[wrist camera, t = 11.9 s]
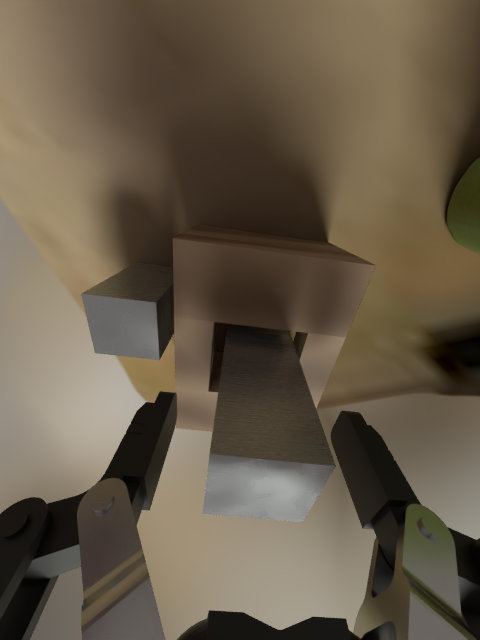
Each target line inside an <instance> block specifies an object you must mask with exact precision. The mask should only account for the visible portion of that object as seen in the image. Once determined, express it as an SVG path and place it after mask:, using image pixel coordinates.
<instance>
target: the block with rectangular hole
mask: <svg viewBox="0 0 480 640" xmlns="http://www.w3.org/2000/svg"><path fill="white" fill-rule="evenodd" d="M375 267H376V265H374V264H372V263H370V262H368V261H366V260H364V259H362V258H359V257H357V256H355V255H353V254H351V253H349V252H347V251H345V250H343V249H341V248H339V247H337V246H335V245H333V244H331V243H329V242H321V241H314V240H307V239H300V238H292V237H285V236H278V235H270V234H263V233H256V232H248V231H241V230H234V229H227V228H219V227H212V226H205V225H198V226H196V227H194V228H192V229H190V230H188V231H186V232H184V233H182V234H180V235H178V236H176V237H174V238H173V285H174V340H175V393H177V420H176V428H181V429H191V430H201V431H212V432H213V426H214V419H215V412H216V404H217V397H218V390H219V383H220V375H221V368H222V361H223V354H224V352H220V351H214V343H215V331H216V322H219V323H227V324H236V325H244V326H253V327H261V328H270V329H278V330H287V331H295V332H296V335H295V338H294V342H293V343H294V346H295V349H296V352H297V355H298V358H299V361H300V364H301V367H302V369H303V372H304V375H305V378H306V381H307V384H308V387H309V390H310V393H311V396H312V398H313V401H314V404H315V407H316V408H317V405H318V403H319V400H320V398H321V396H322V393H323V391H324V389H325V386H326V384H327V381H328V379H329V377H330V374H331V372H332V369H333V367H334V365H335V362H336V360H337V358H338V355H339V353H340V350H341V348H342V346H343V343H344V341H345V339H346V336H347V334H348V331H349V329H350V327H351V324H352V322H353V319H354V317H355V315H356V312H357V310H358V308H359V305H360V303H361V300H362V298H363V296H364V293H365V291H366V289H367V286H368V284H369V281H370V279H371V277H372V274H373V272H374V270H375Z"/></svg>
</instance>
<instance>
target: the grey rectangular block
mask: <svg viewBox="0 0 480 640" xmlns="http://www.w3.org/2000/svg"><path fill="white" fill-rule="evenodd" d="M82 299H83V303H84V307H85V312H86V316H87V320H88V324H89V329H90V333H91V337H92V342H93V346H94V350H95V353H99V354H108V355H118V356H127V357H136V358H146V359H155V360H160V358H161V356H162V354H163V352H164V351H165V349H166V347H167V345H168V343H169V341H170V339H171V337H172V336H173V334H174V285H173V267H170V266H162V265H154V264H146V263H138V262H136V263H135V264H133V265H131V266H129V267H128V268H126V269H124V270H122V271H121V272H119V273H117V274H115V275H114V276H112V277H110V278H108V279H106V280H105V281H103V282H101V283H99V284H98V285H96V286H94V287H92V288H91V289H89V290H87V291H85V292H84V293H82Z"/></svg>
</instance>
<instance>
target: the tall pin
mask: <svg viewBox="0 0 480 640" xmlns="http://www.w3.org/2000/svg"><path fill="white" fill-rule="evenodd" d="M335 467H336V465H335V463H334V460H333V457H332V454H331V451H330V448H329V445H328V442H327V439H326V436H325V433H324V430H323V428H322V425H321V422H320V419H319V416H318V413H317V410H316V407H315V404H314V401H313V398H312V396H311V393H310V390H309V387H308V384H307V381H306V378H305V375H304V372H303V369H302V367H301V364H300V361H299V358H298V355H297V352H296V349H295V346H294V343H293V341H292V338H291V335H290V332H289V331H287V330H278V329H270V328H261V327H253V326H244V325H236V324H228V325H227V332H226V339H225V346H224V354H223V361H222V368H221V375H220V383H219V390H218V397H217V404H216V412H215V419H214V426H213V434H212V441H211V448H210V455H209V464H208V473H207V482H206V490H205V499H204V509H203V514H213V515H224V516H225V515H226V516H238V517H249V518H260V519H272V520H284V521H297V522H303V520H304V518H305V517H306V515H307V513H308V512H309V510H310V508H311V507H312V505H313V503H314V502H315V500H316V499H317V497H318V495H319V493H320V492H321V490H322V488H323V487H324V485H325V484H326V482H327V480H328V479H329V477H330V475H331V474H332V472H333V470H334V469H335Z"/></svg>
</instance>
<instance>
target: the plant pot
mask: <svg viewBox="0 0 480 640" xmlns="http://www.w3.org/2000/svg"><path fill="white" fill-rule="evenodd" d="M447 225H448V227H449V229H450V231H451V233H452V235H453V237H454V239H455V241H456V242H457V243H458V244H459V245H461V246H463V247H465V248H468V249H470V250H472V251H474V252H476V253H479V254H480V157H479V158H478V159H477V160H475V161H474V162H473V163H472V164H471V165H470V167H469V168H468V169H467V171H466V172H465V173H464V175H463V176H462V178H461V179H460V181H459V182H458V184H457V186H456V188H455V190H454V192H453V194H452V197H451V199H450V203H449V207H448V212H447Z"/></svg>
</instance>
